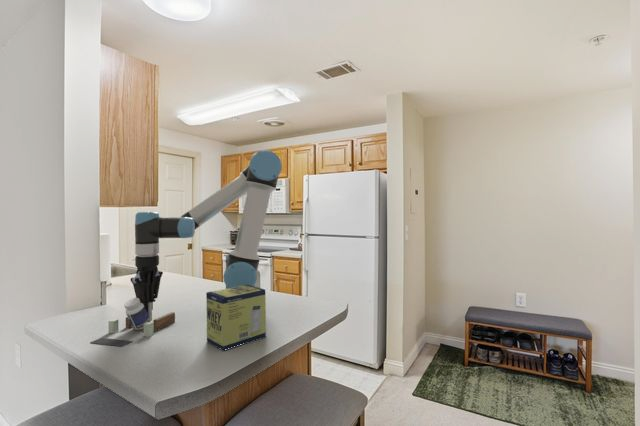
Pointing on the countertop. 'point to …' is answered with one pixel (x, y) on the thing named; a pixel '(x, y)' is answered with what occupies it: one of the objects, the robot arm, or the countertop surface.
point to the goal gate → (147, 327)
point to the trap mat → (111, 342)
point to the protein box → (235, 316)
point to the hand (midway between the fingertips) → (147, 320)
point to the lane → (158, 321)
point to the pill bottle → (136, 313)
